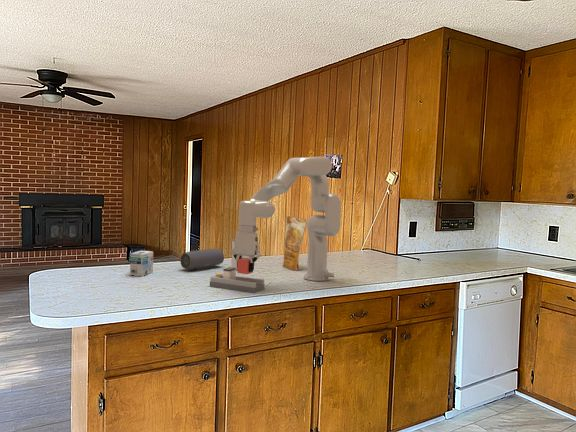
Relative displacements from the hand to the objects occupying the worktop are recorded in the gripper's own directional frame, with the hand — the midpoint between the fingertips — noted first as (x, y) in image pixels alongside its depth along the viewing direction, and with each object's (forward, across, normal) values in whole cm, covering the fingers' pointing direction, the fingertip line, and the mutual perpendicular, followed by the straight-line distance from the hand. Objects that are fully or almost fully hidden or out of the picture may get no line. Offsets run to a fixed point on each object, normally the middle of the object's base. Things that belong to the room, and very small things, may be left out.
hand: (245, 270), depth 199 cm
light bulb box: (+9, +56, +1) cm, 56 cm away
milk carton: (+8, +23, -37) cm, 44 cm away
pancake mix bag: (+8, +1, -56) cm, 57 cm away
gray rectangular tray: (+8, +4, 0) cm, 9 cm away
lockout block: (+1, 0, 0) cm, 1 cm away
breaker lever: (+6, +8, 0) cm, 10 cm away
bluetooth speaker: (+8, +40, -27) cm, 49 cm away
